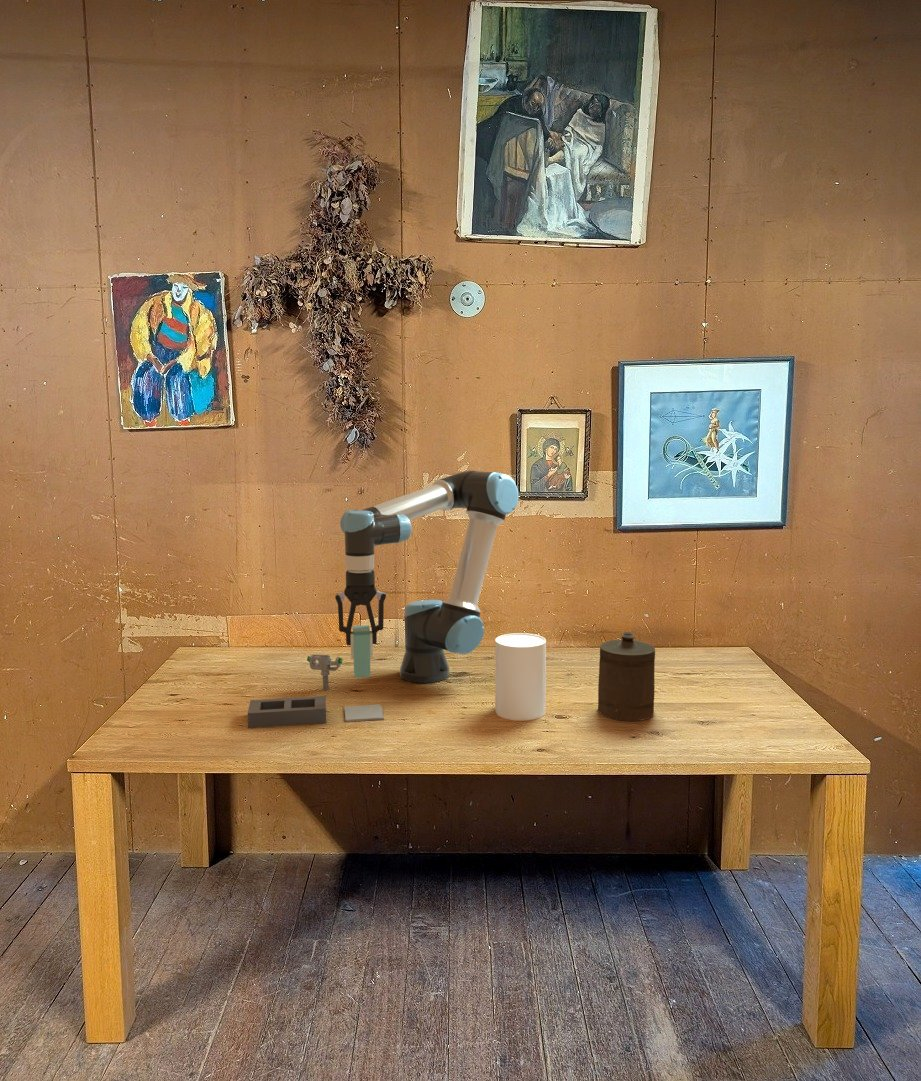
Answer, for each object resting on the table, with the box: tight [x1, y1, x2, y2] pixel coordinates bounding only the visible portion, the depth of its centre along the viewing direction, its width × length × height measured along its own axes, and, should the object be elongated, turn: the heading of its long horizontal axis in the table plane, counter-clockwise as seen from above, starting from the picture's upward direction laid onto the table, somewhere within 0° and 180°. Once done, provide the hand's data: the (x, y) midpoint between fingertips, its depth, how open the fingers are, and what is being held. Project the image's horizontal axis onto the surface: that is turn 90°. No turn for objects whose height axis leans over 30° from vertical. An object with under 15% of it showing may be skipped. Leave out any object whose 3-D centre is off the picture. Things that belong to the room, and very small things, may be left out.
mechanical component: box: [306, 653, 343, 691], centre depth 257 cm, size 3×10×10 cm, turn 79°
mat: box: [344, 704, 385, 723], centre depth 238 cm, size 10×10×1 cm
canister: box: [494, 632, 547, 722], centre depth 237 cm, size 14×14×20 cm
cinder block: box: [247, 695, 327, 729], centre depth 234 cm, size 20×10×4 cm, turn 99°
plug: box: [352, 624, 371, 678], centre depth 234 cm, size 4×4×13 cm
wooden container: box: [597, 631, 656, 722], centre depth 237 cm, size 15×15×22 cm
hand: (361, 656), depth 235 cm, fingers closed on plug, 4 cm apart
